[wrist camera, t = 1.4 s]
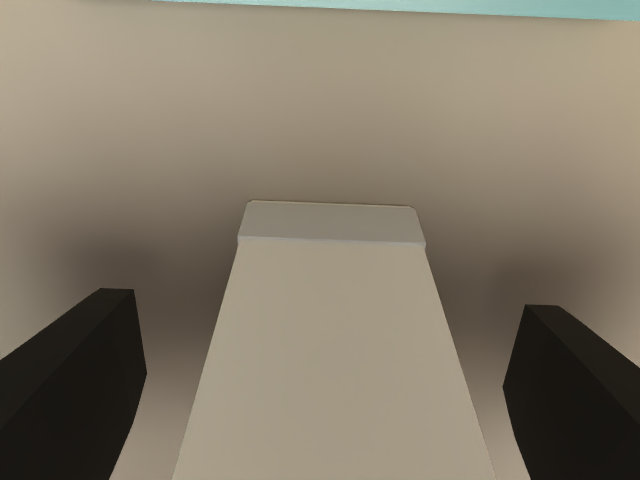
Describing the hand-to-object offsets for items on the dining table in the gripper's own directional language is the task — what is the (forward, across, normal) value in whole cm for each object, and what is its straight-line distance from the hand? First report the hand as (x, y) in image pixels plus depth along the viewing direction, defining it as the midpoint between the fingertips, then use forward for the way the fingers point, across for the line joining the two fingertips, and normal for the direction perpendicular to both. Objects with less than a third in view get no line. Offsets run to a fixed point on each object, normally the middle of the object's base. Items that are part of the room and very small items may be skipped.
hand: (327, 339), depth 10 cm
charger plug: (+2, 0, 0) cm, 2 cm away
